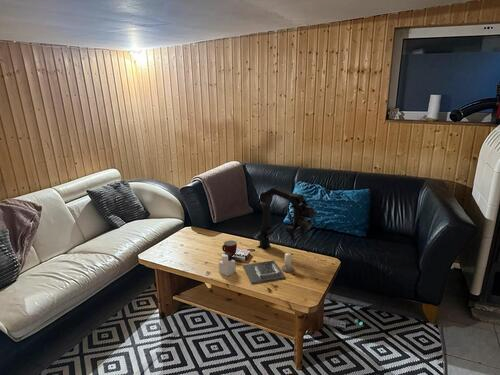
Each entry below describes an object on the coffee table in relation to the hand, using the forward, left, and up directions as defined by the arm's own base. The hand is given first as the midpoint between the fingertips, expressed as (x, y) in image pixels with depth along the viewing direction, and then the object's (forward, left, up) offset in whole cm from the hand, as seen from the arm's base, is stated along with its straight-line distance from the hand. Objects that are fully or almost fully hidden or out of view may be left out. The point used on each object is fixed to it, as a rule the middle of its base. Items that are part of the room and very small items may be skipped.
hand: (298, 239), depth 201 cm
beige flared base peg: (+2, -13, -14) cm, 20 cm away
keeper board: (-7, -25, -14) cm, 30 cm away
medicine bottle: (-23, -39, -15) cm, 48 cm away
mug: (-36, -25, -15) cm, 46 cm away
